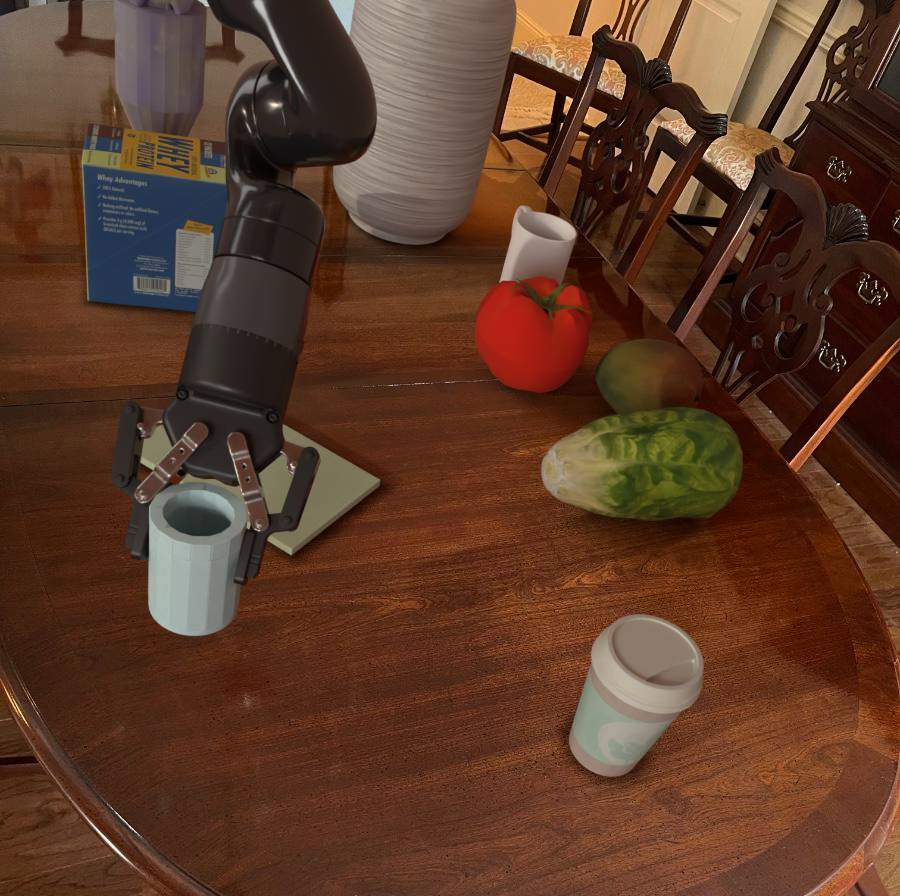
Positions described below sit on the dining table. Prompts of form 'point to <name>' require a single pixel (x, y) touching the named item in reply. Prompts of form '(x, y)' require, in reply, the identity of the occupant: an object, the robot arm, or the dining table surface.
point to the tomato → (533, 332)
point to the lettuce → (647, 465)
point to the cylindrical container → (194, 557)
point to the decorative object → (160, 63)
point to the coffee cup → (633, 691)
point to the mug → (538, 246)
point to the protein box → (150, 215)
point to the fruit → (648, 376)
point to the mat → (327, 499)
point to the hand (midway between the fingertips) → (189, 571)
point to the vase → (426, 112)
